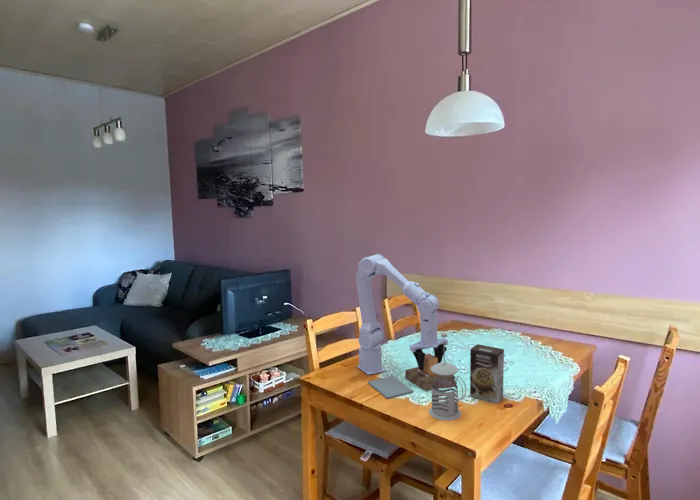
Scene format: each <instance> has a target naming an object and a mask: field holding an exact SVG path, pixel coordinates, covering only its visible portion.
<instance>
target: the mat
mask: <svg viewBox="0 0 700 500" xmlns="http://www.w3.org/2000/svg"><path fill="white" fill-rule="evenodd" d="M367 384H368V385H369V386H370V387H371V388H373V389H375V390H376V392H378V393H379V394H381V395H382V396H383V397H384V398H385V399H387V400H389V399H393V398H394V399H395V398H397V397H400V396H401V397H402V396H406V395H409V394H413V393H414V390H413V389H412V388H410V387H409V386H407V385H406V384H405V383H403V382H402V381H400V380H399V379H398V378H396V377H394V376H393V375H391V376H387V377H382V378H376V379H374V380H370V381H367ZM405 394H406V395H405Z"/></svg>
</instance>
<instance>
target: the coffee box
mask: <svg viewBox="0 0 700 500" xmlns="http://www.w3.org/2000/svg"><path fill="white" fill-rule="evenodd" d="M469 350H470V353H469V355H470V357H469V358H470V359H469V361H470V363H469V364H470V365H469V366H470V367H469V368H470V370H469V371H470V372H469V382H470V383H469V385H470V387H469V390H470V391H469V393H470V394H469V397H471V398H475V399H478V400H483V401H486V402H490V403H493V404H498V403H500V401H501V399H503V397H504V373H505V372H504V369H505V368H504V367H505V366H504V364H505V363H504V362H505V361H504V360H505V349H504V348H499V347H495V346H488V345H484V344H480V343H479V344H478V343H477V344H476V345H474V346H473V347H472V348H470V349H469Z"/></svg>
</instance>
